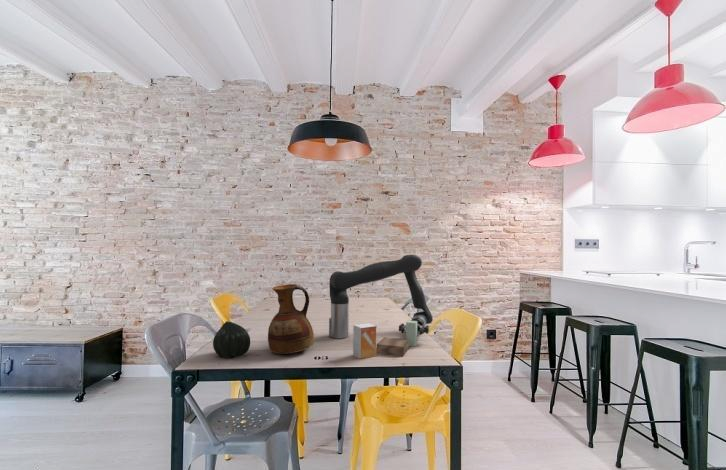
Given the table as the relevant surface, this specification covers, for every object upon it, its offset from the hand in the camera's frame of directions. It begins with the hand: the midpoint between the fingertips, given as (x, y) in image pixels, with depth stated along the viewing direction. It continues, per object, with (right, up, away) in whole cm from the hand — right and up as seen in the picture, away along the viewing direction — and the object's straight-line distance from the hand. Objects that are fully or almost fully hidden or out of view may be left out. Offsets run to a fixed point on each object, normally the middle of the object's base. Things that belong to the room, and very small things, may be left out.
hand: (411, 331), depth 174 cm
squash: (-79, -6, -16) cm, 81 cm away
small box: (-22, -6, -15) cm, 28 cm away
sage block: (0, -7, +1) cm, 7 cm away
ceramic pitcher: (-55, -6, -10) cm, 56 cm away
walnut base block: (-9, -6, -8) cm, 14 cm away
